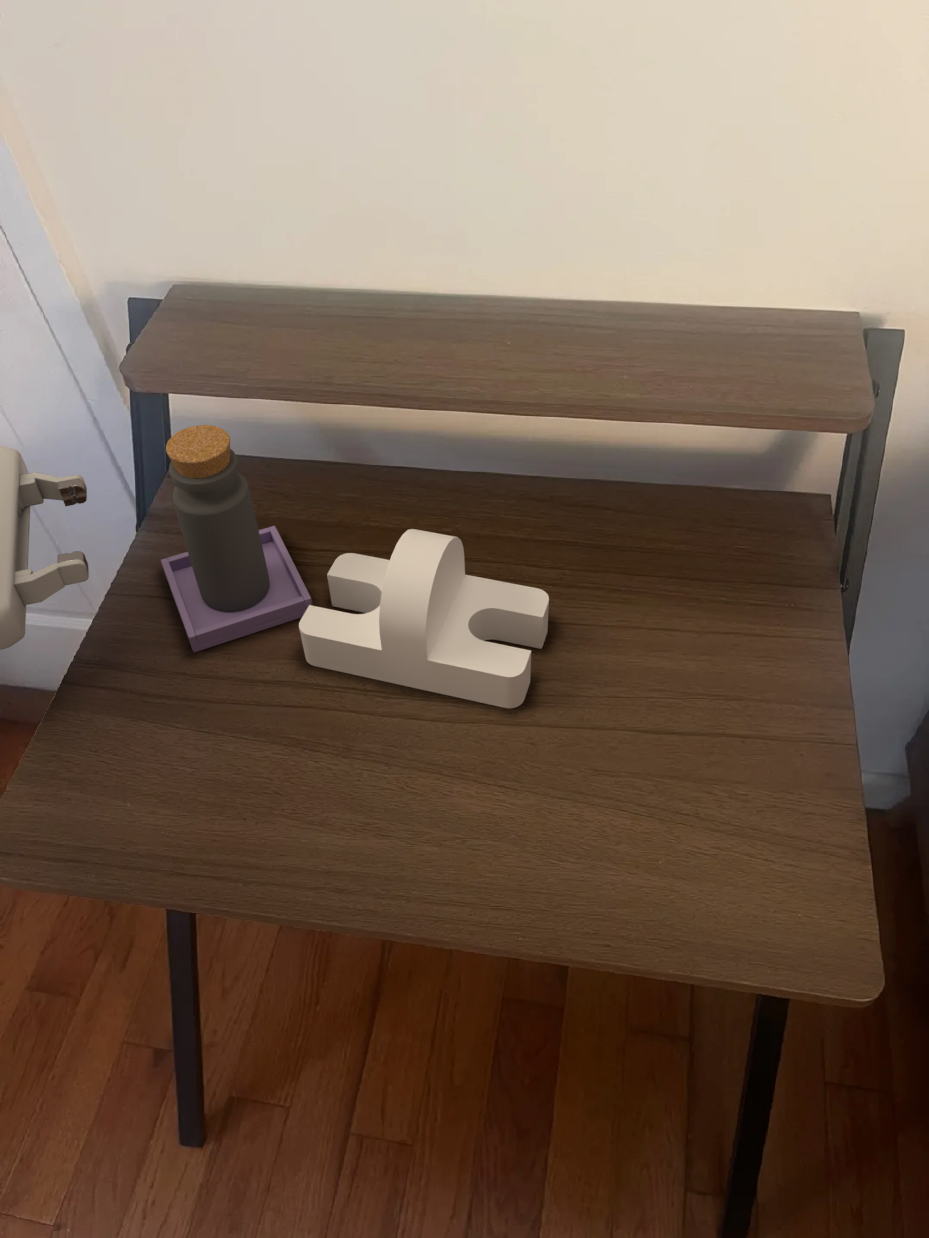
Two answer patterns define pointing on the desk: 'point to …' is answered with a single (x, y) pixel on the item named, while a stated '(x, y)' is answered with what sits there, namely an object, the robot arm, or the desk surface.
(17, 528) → the robot arm
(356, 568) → the white slotted bracket
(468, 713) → the desk surface
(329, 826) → the desk surface
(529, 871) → the desk surface
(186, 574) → the tray
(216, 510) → the bottle
